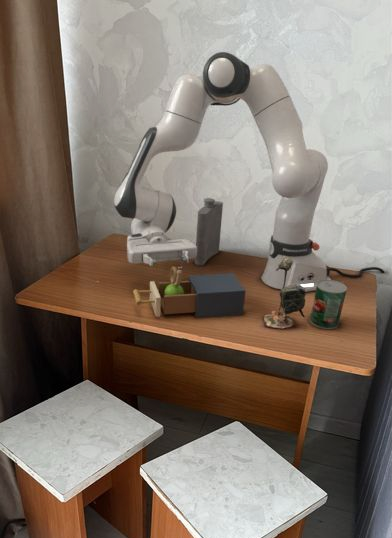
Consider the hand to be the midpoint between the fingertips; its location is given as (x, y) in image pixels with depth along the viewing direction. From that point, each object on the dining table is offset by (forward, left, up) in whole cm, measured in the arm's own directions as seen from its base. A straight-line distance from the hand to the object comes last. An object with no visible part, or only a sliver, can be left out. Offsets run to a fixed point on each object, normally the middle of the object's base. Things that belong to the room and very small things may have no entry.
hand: (170, 262), depth 137 cm
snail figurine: (0, +5, -10) cm, 11 cm away
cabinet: (-12, +5, -12) cm, 18 cm away
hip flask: (-19, -31, -12) cm, 38 cm away
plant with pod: (-28, +17, -12) cm, 35 cm away
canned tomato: (-40, +18, -12) cm, 46 cm away
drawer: (+2, +5, -11) cm, 12 cm away
